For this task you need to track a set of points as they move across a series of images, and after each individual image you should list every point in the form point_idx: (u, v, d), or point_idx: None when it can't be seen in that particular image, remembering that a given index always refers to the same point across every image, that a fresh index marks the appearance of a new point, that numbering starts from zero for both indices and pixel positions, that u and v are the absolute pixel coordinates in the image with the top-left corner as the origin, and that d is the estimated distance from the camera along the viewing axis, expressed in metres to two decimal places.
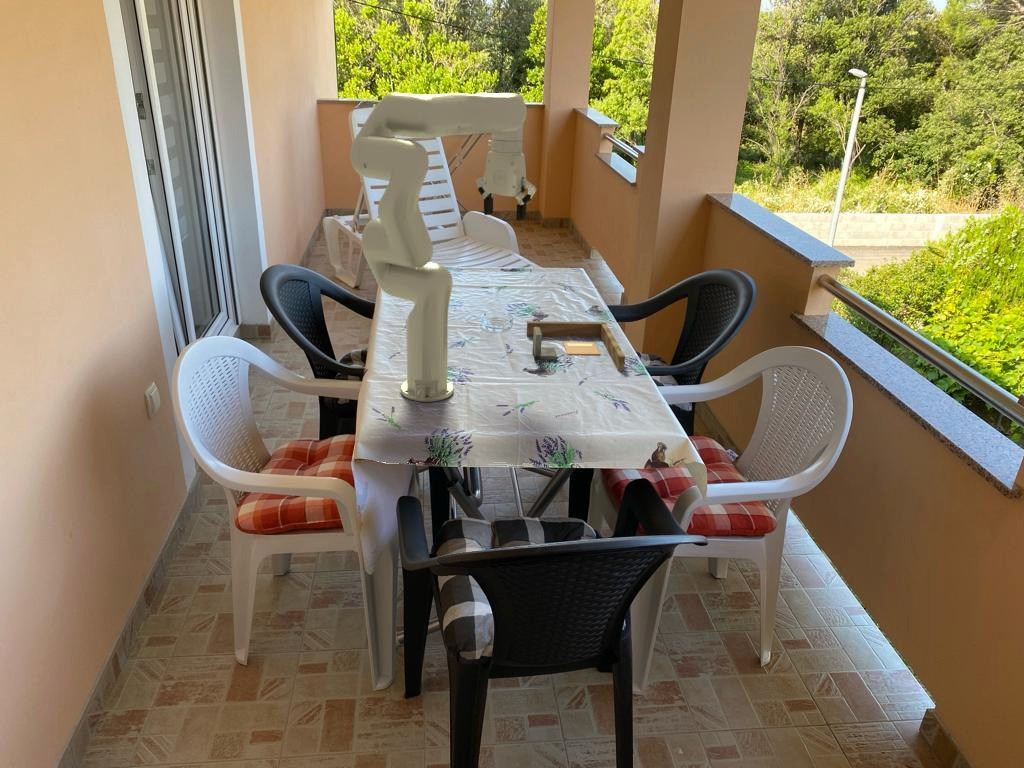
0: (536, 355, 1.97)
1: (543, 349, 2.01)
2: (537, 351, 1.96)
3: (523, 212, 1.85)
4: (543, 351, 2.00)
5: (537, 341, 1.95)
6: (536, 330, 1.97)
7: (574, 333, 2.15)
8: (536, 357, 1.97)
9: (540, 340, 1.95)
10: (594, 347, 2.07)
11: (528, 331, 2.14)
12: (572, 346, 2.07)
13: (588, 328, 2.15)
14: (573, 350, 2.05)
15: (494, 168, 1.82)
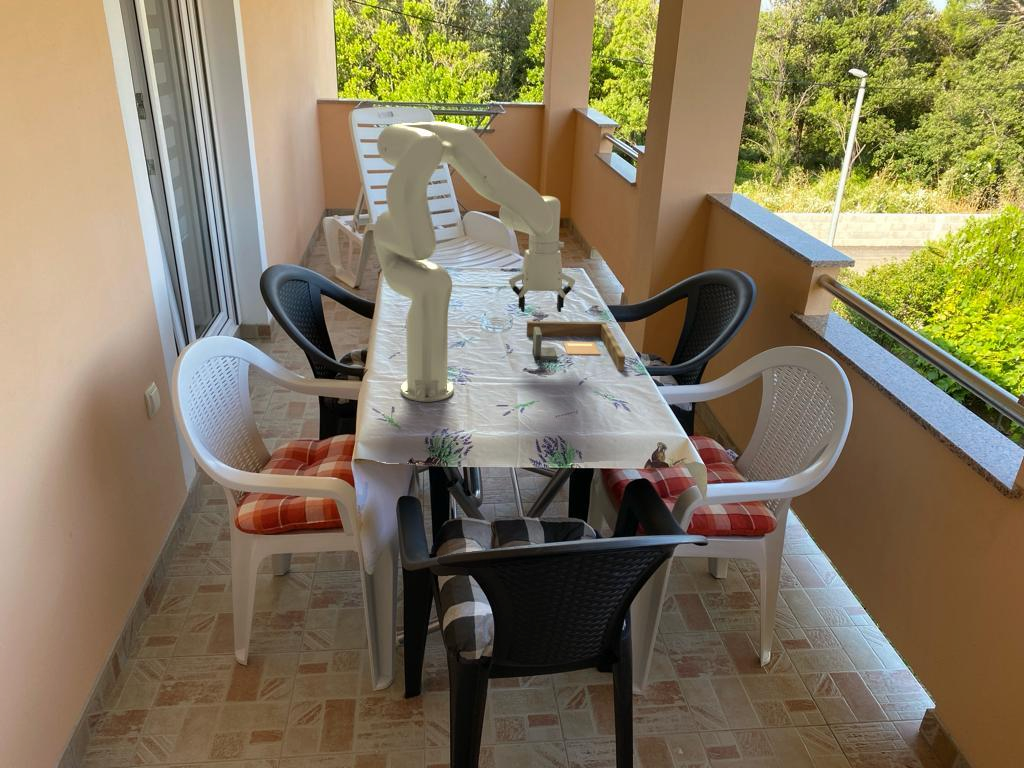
0: (536, 355, 1.97)
1: (543, 349, 2.01)
2: (537, 351, 1.96)
3: None
4: (543, 351, 2.00)
5: (537, 341, 1.95)
6: (536, 330, 1.97)
7: (574, 333, 2.15)
8: (536, 357, 1.97)
9: (540, 340, 1.95)
10: (594, 347, 2.07)
11: (528, 331, 2.14)
12: (572, 346, 2.07)
13: (588, 328, 2.15)
14: (573, 350, 2.05)
15: None
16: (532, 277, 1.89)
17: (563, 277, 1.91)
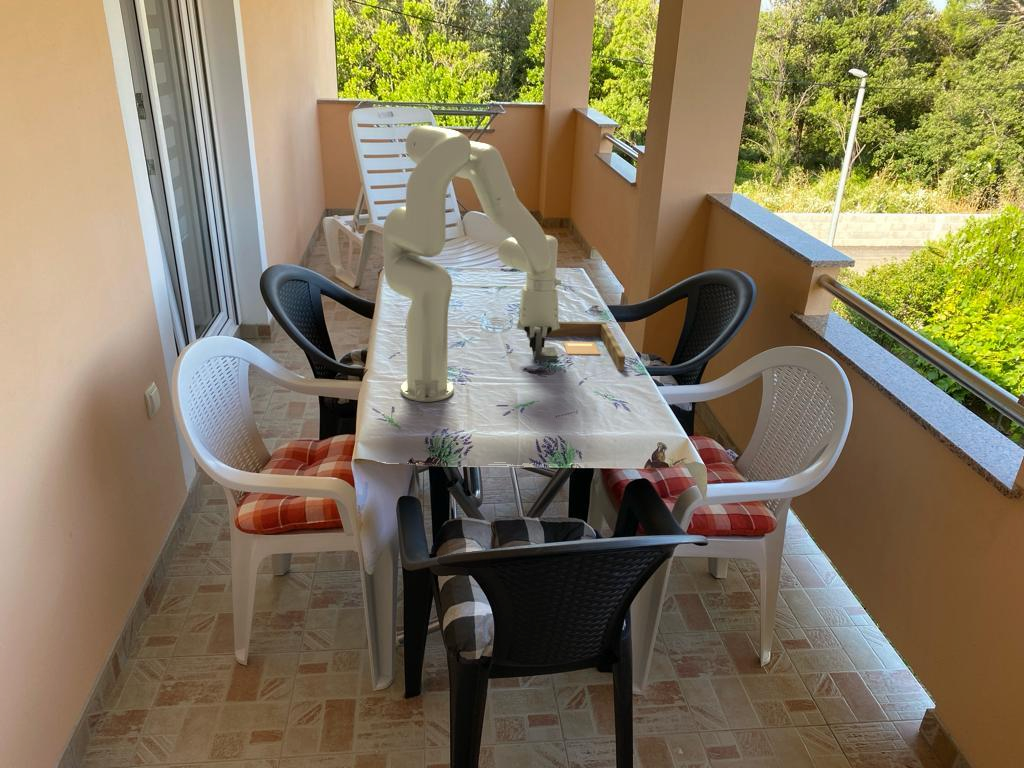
0: (536, 355, 1.97)
1: (543, 349, 2.01)
2: (537, 351, 1.96)
3: None
4: (543, 350, 2.00)
5: (537, 341, 1.95)
6: (536, 330, 1.97)
7: (574, 333, 2.15)
8: (536, 357, 1.97)
9: (540, 340, 1.95)
10: (594, 347, 2.07)
11: None
12: (572, 346, 2.07)
13: (588, 328, 2.15)
14: (573, 350, 2.05)
15: None
16: (529, 313, 1.93)
17: None
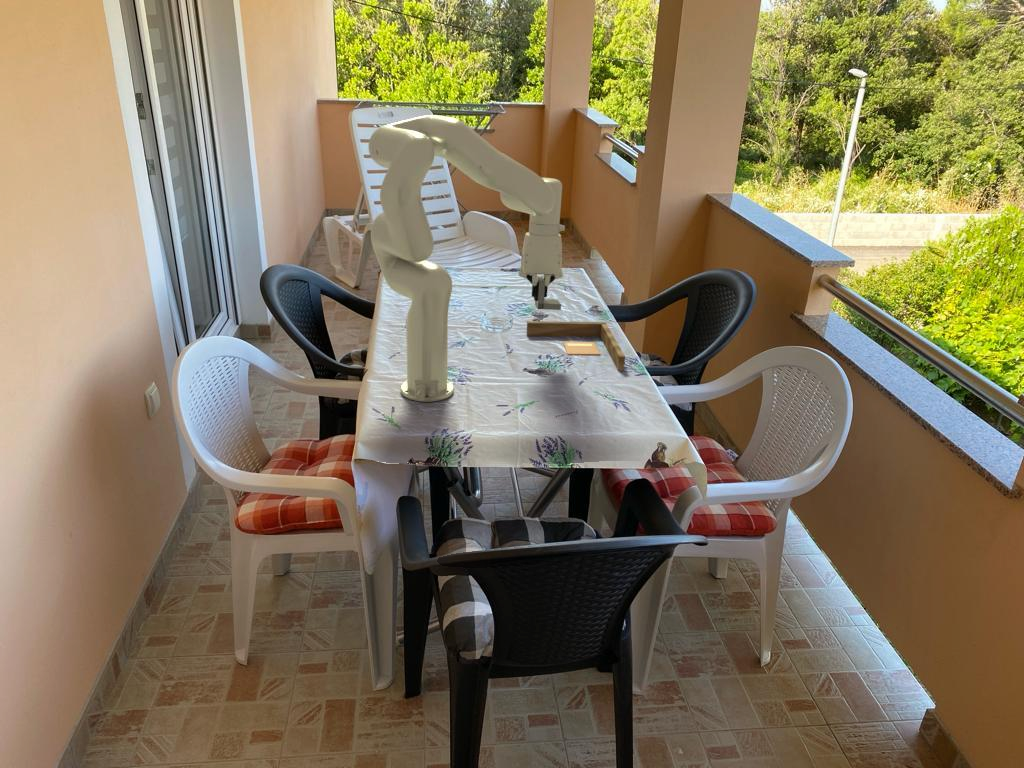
0: (539, 303, 1.90)
1: (546, 300, 1.95)
2: (540, 298, 1.90)
3: (532, 291, 1.93)
4: (546, 301, 1.94)
5: (540, 287, 1.89)
6: (539, 278, 1.91)
7: (574, 333, 2.15)
8: (539, 305, 1.90)
9: (543, 286, 1.89)
10: (594, 347, 2.07)
11: (528, 331, 2.14)
12: (572, 346, 2.07)
13: (588, 328, 2.15)
14: (573, 350, 2.05)
15: None
16: (532, 260, 1.87)
17: None
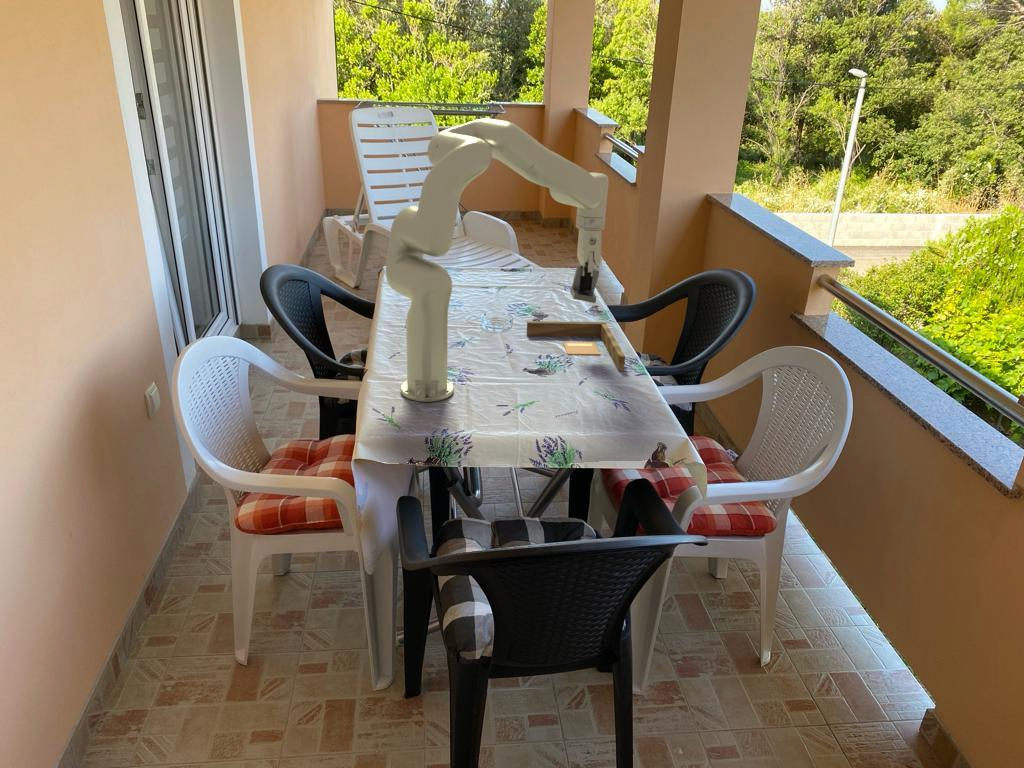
0: None
1: (589, 293, 2.00)
2: (573, 283, 2.01)
3: None
4: (584, 292, 2.00)
5: (575, 273, 2.00)
6: None
7: (574, 333, 2.15)
8: (571, 288, 2.02)
9: (576, 272, 1.99)
10: (594, 347, 2.07)
11: (528, 331, 2.14)
12: (572, 346, 2.07)
13: (588, 328, 2.15)
14: (573, 350, 2.05)
15: None
16: None
17: (588, 259, 1.94)
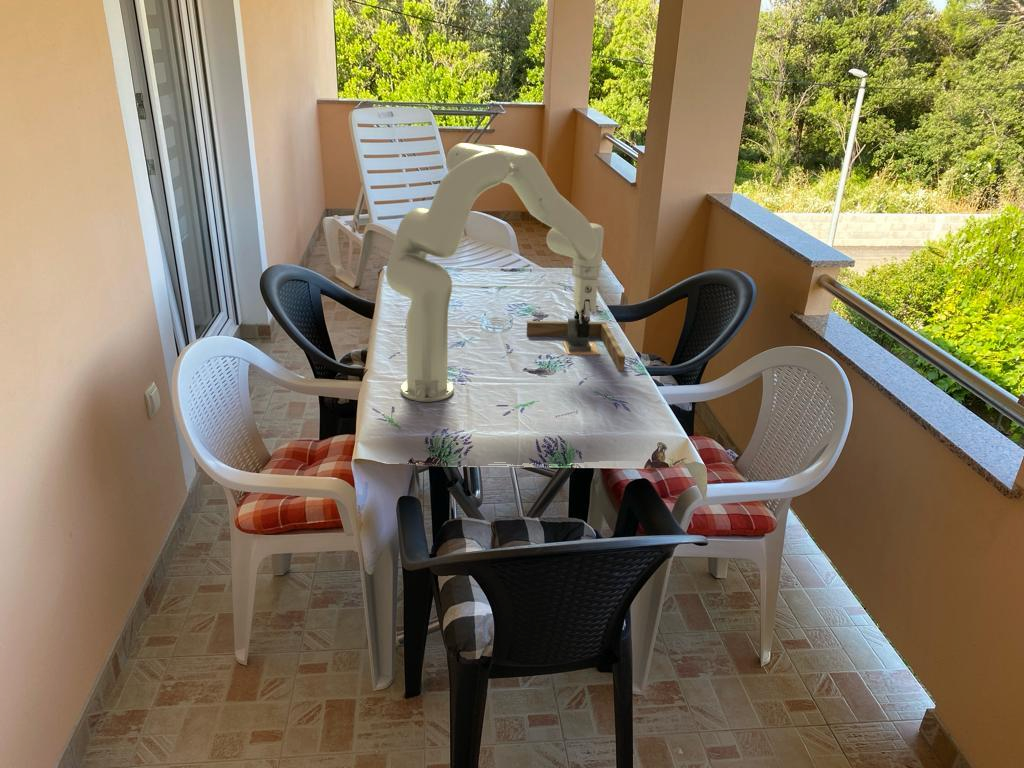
0: (566, 338, 2.08)
1: (583, 342, 2.06)
2: None
3: None
4: (579, 342, 2.06)
5: (567, 325, 2.06)
6: None
7: None
8: (566, 340, 2.08)
9: (568, 325, 2.06)
10: (594, 347, 2.07)
11: (528, 331, 2.14)
12: None
13: None
14: None
15: None
16: None
17: (584, 305, 1.99)
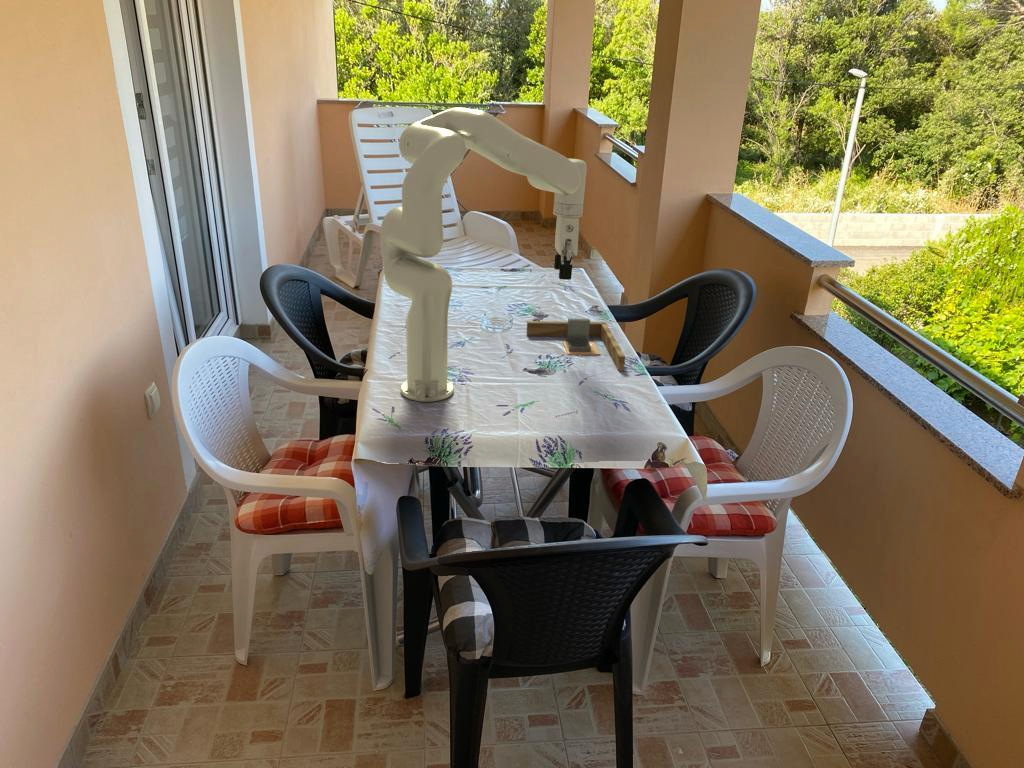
0: (566, 338, 2.08)
1: (583, 342, 2.06)
2: None
3: None
4: (579, 342, 2.06)
5: (567, 325, 2.06)
6: (579, 319, 2.06)
7: None
8: (566, 340, 2.08)
9: (568, 325, 2.06)
10: (594, 347, 2.07)
11: (528, 331, 2.14)
12: None
13: None
14: None
15: None
16: (555, 235, 1.95)
17: (566, 244, 1.88)
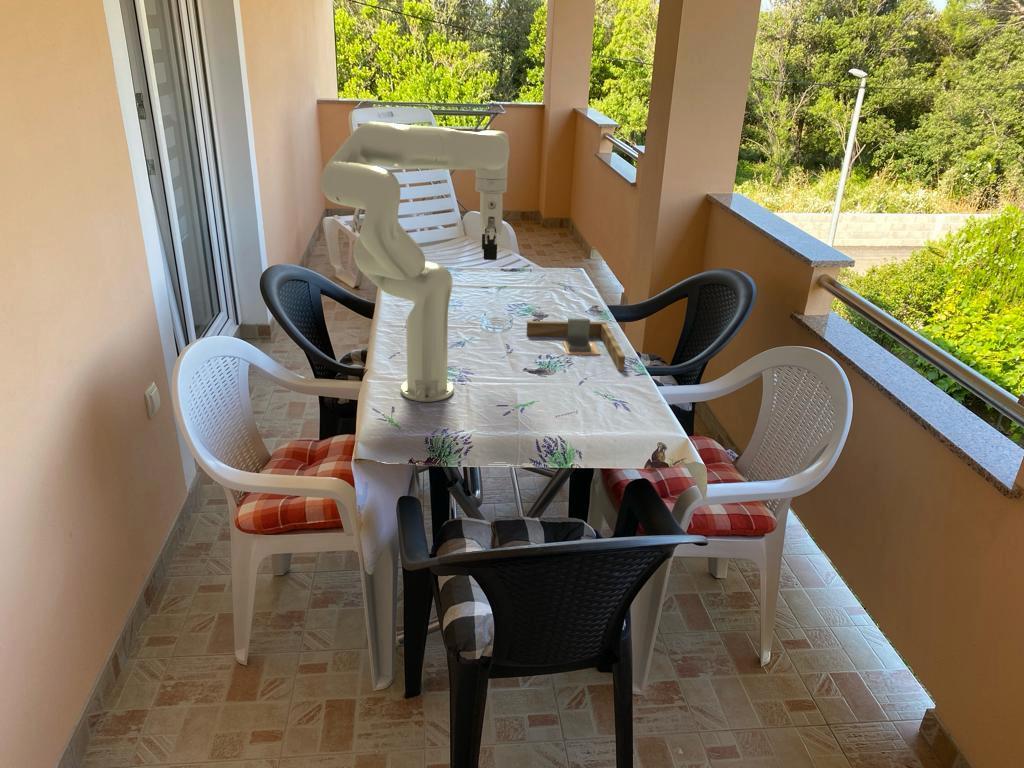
0: (566, 338, 2.08)
1: (583, 342, 2.06)
2: None
3: None
4: (579, 342, 2.06)
5: (567, 325, 2.06)
6: (579, 319, 2.06)
7: None
8: (566, 340, 2.08)
9: (568, 325, 2.06)
10: (594, 347, 2.07)
11: (528, 331, 2.14)
12: None
13: None
14: None
15: (502, 207, 1.79)
16: None
17: (488, 222, 1.77)
